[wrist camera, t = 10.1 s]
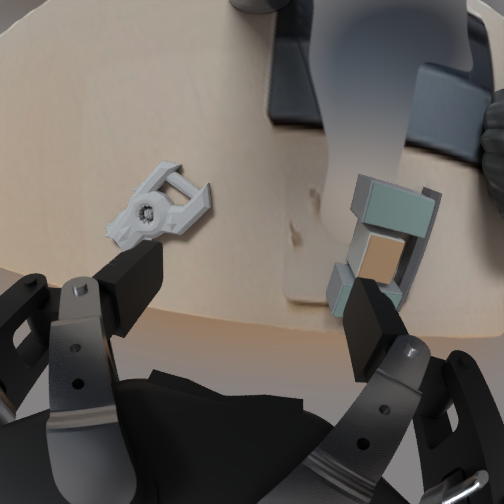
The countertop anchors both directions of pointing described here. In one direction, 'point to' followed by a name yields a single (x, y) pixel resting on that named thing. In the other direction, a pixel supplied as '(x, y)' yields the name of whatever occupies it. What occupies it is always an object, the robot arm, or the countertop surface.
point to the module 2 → (374, 252)
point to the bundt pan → (494, 149)
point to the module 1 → (391, 206)
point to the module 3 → (343, 285)
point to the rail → (415, 252)
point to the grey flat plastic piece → (158, 208)
